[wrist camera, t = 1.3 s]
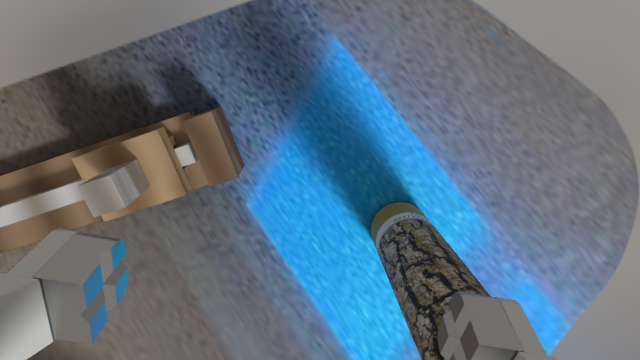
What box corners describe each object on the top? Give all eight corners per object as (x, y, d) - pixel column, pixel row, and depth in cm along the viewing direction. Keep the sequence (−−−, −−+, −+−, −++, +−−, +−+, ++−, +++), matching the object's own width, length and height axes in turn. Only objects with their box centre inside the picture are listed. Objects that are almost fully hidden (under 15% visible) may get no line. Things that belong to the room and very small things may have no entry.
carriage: (168, 124, 42) (132, 141, 33) (194, 184, 44) (168, 216, 35) (88, 151, 43) (32, 175, 34) (118, 210, 45) (72, 247, 36)
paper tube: (367, 203, 48) (435, 347, 24) (423, 196, 48) (548, 332, 24) (371, 255, 50) (439, 436, 26) (426, 247, 50) (544, 421, 26)
